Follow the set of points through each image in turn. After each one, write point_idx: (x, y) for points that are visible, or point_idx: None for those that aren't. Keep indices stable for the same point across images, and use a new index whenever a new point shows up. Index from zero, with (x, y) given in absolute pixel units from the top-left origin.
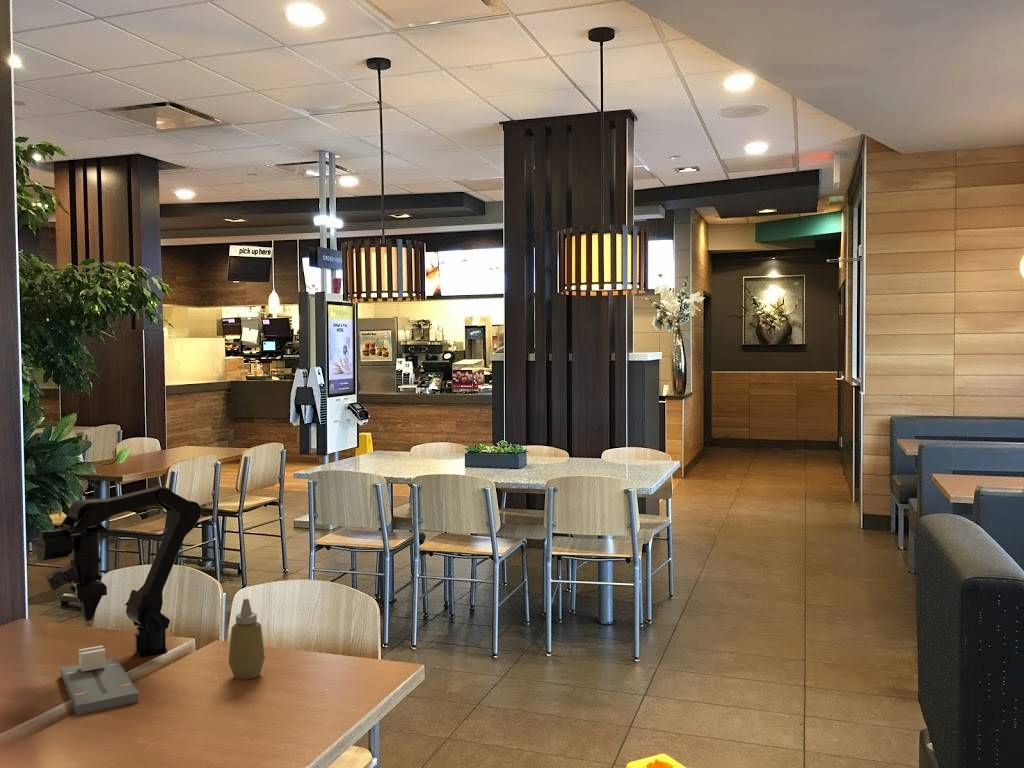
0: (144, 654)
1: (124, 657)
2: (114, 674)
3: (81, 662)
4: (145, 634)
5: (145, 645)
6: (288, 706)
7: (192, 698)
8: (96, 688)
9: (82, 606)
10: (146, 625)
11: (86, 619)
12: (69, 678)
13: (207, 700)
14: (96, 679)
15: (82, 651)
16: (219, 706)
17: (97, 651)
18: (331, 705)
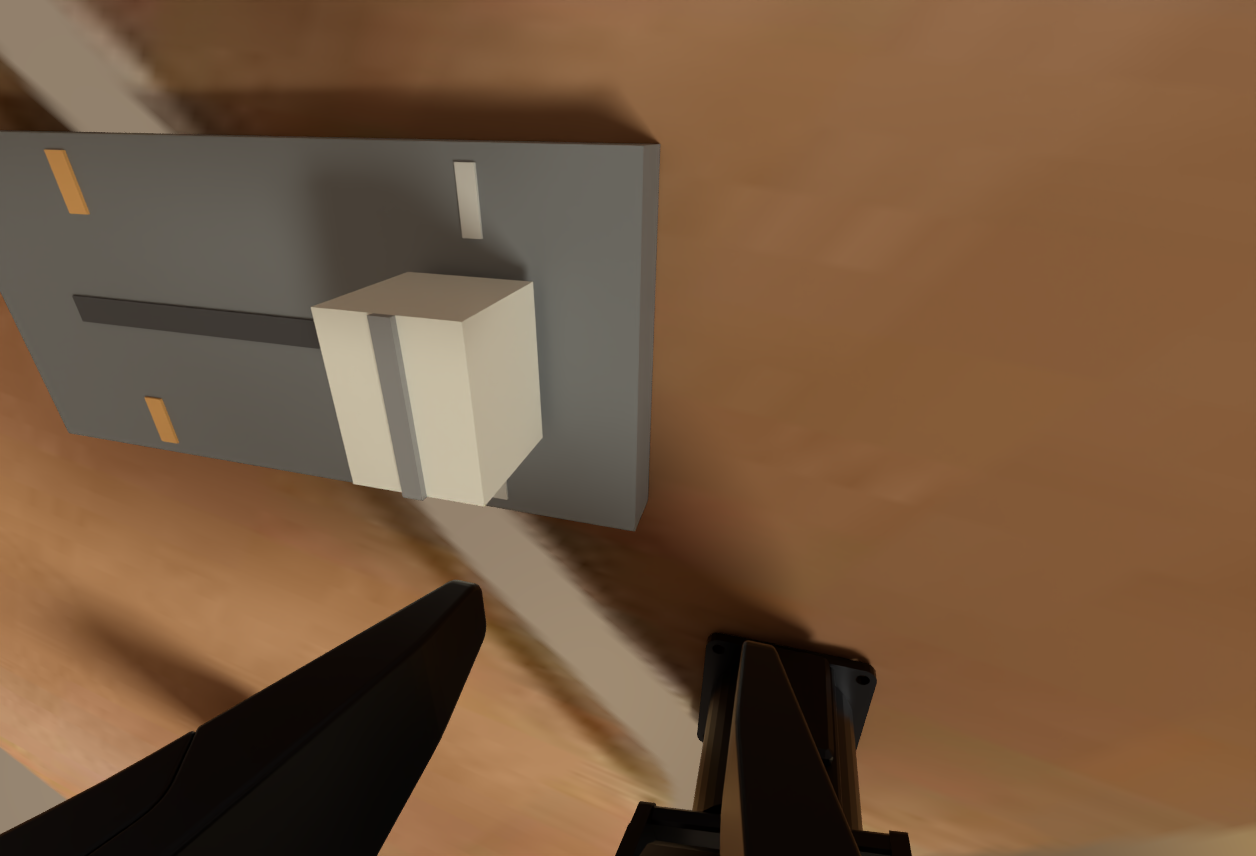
0: (705, 655)
1: (783, 578)
2: (334, 427)
3: (368, 288)
4: (716, 778)
5: (723, 708)
6: (43, 689)
7: (125, 563)
8: (146, 287)
9: (741, 828)
10: (632, 847)
11: (432, 598)
12: (357, 170)
13: (102, 586)
14: (274, 322)
15: (370, 332)
16: (54, 587)
17: (341, 431)
18: (44, 739)
